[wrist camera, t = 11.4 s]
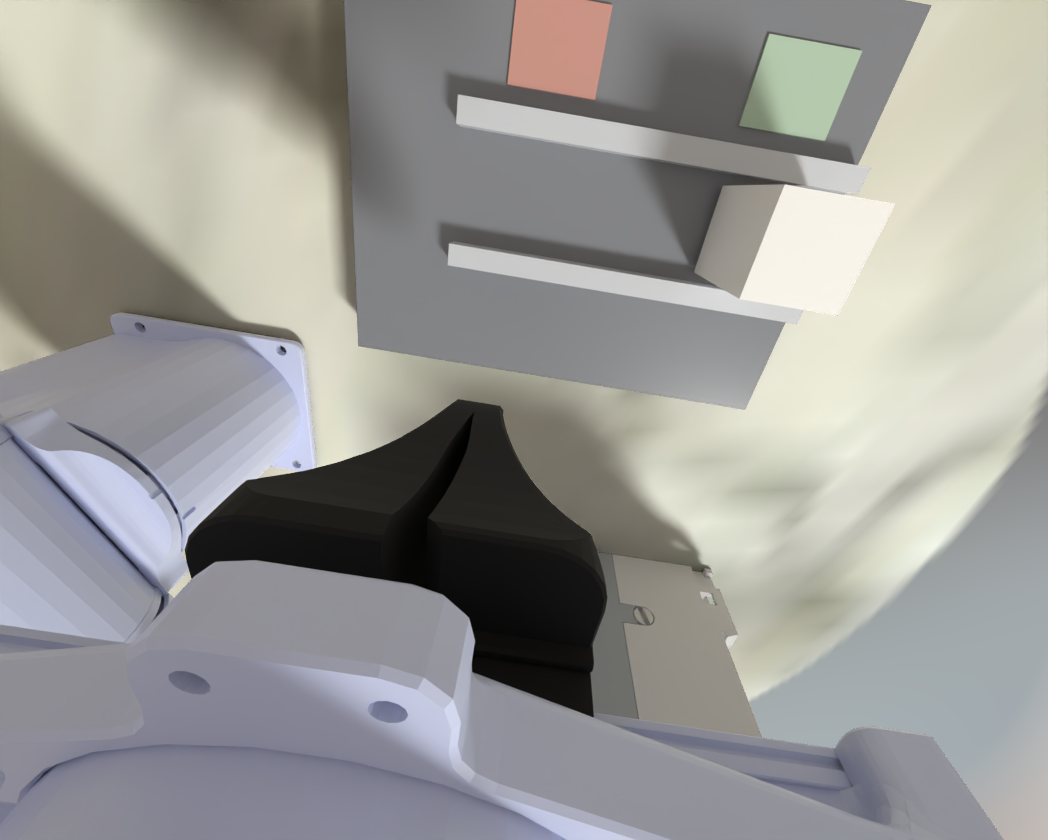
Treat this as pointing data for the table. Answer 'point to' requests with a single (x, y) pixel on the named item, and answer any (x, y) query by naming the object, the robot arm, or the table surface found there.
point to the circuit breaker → (667, 649)
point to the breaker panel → (595, 173)
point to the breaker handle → (790, 244)
